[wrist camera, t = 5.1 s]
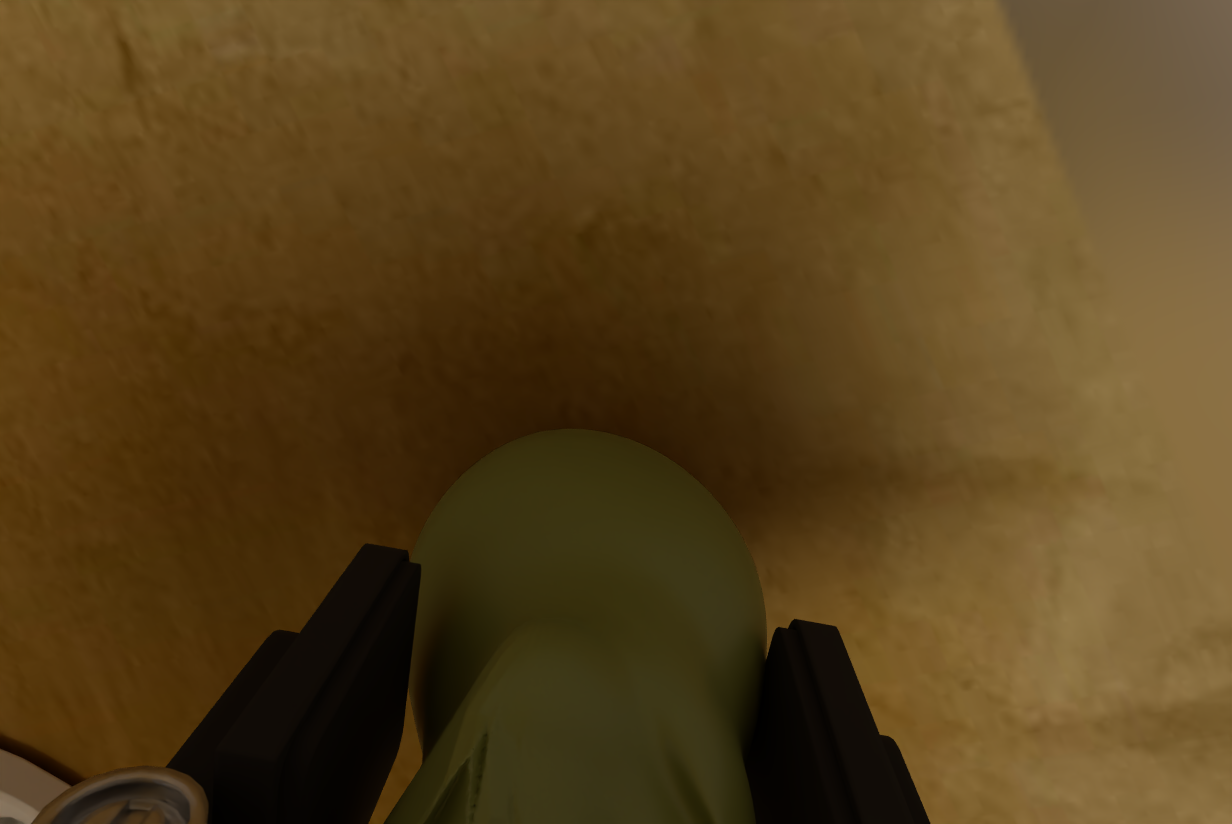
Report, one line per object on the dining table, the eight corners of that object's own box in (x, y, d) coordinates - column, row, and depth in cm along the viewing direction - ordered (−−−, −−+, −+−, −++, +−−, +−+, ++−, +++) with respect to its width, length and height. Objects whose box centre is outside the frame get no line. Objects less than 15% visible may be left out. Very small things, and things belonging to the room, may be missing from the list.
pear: (626, 699, 17) (618, 1427, 7) (394, 574, 16) (32, 1191, 6) (784, 481, 15) (1045, 1018, 6) (537, 333, 14) (349, 654, 5)
